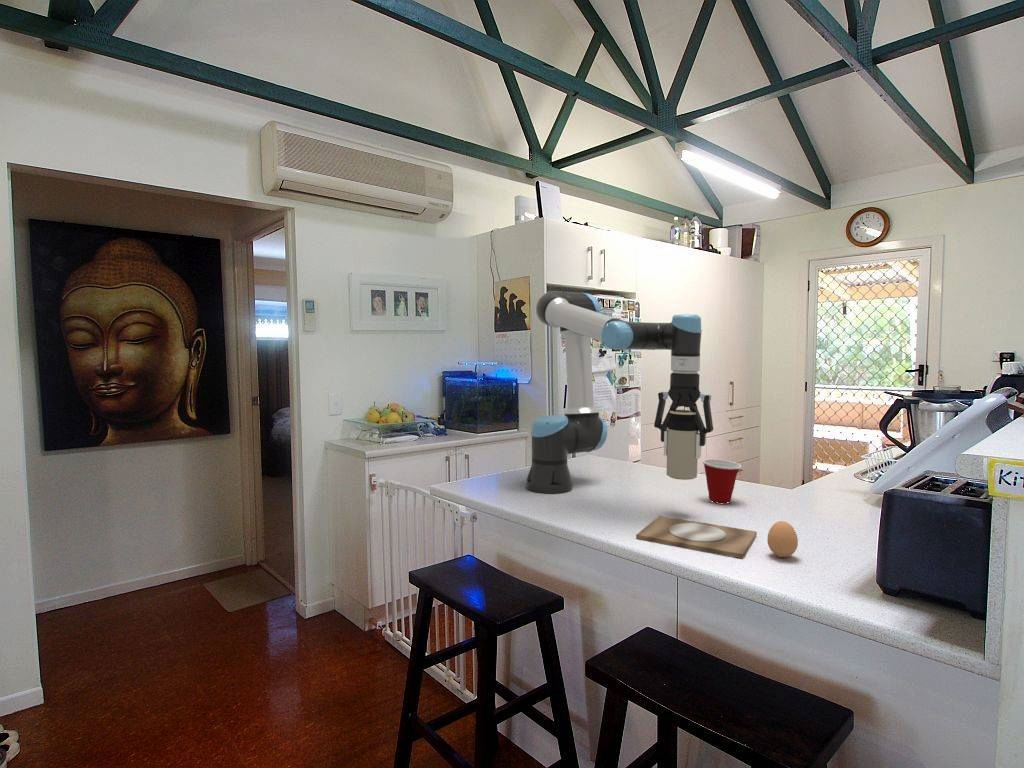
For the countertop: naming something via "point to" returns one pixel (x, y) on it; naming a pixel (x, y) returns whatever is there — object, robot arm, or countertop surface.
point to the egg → (782, 539)
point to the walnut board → (698, 536)
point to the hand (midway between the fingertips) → (682, 455)
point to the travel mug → (682, 445)
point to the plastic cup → (720, 479)
